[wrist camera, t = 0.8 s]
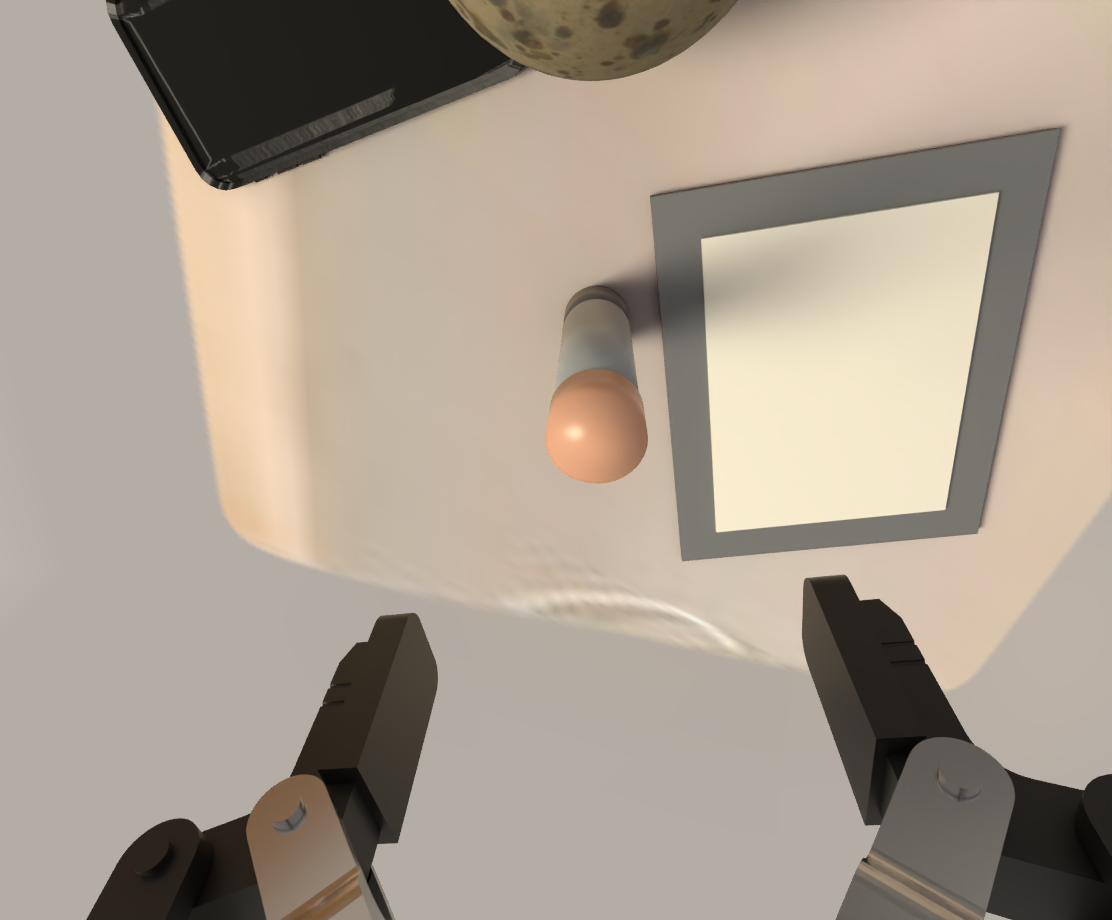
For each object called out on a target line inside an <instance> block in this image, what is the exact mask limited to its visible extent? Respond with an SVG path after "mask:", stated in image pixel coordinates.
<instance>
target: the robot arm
mask: <svg viewBox="0 0 1112 920" xmlns="http://www.w3.org/2000/svg"><path fill="white" fill-rule="evenodd" d="M802 639H803V647H804V652H805V657H806V661H807V664H808V667H809V670H810V673H811V675H812V678H813V681H814V684H815V687H816V689H817V692H818V695H819V698H820V701H821V703H822V706H823V709H824V711H825V715H826V717H827V720H828V723H829V726H830V729H831V731H832V734H833V737H834V740H835V743H836V745H837V748H838V751H839V754H840V757H841V759H842V762H843V765H844V768H845V771H846V773H847V776H848V779H849V782H850V784H851V787H852V790H853V793H854V796H855V798H856V801H857V804H858V807H859V810H860V813H861V815H862V818H863V821H864V824H865V825H880V828H879V831H878V833H877V835H876V838H875V840H874V843H873V845H872V848H871V850H870V852H869V854H868V856H867V858H866V859H865V858H863V859H862V860H861V862H860V864H859V866H858V868H857V870H856V872H855V874H854V876H853V879H852V881H851V884H850V886H849V888H848V891H847V893H846V896H845V898H844V901H843V903H842V905H841V908H840V910H839V913H838V915H837V918H836V920H984V917H985V913H986V912H988V913H992V914H995V915H998V916H1002V917H1005V918H1008V919H1012V920H1112V774H1108V775H1104V776H1099V777H1097V778H1095V779H1093V780H1092V781H1091V782H1090V783H1089V784H1088V785H1087V787H1086V788H1085V790H1079V789H1075V788H1070V787H1066V786H1061V785H1057V784H1052V783H1047V782H1043V781H1039V780H1034V779H1031V778H1027V777H1024V776H1021V775H1018V774H1016V773H1013V772H1011V771H1009V770H1007V769H1005V768H1003V766H1002V765H1001V764H1000V763H999V762H998V761H997V760H996V759H995V758H993V757H992V756H991V755H990V754H988V753H987V752H985V751H984V750H982V749H981V748H979V747H977V746H975V745H974V744H973V743H972V741H971V740H970V739H969V737H968V736H967V734H966V733H965V731H964V729H963V727H962V725H961V724H960V722H959V720H958V718H957V716H956V715H955V713H954V711H953V709H952V708H951V706H950V704H949V702H948V700H947V699H946V697H945V695H944V693H943V691H942V690H941V688H940V686H939V684H938V682H937V681H936V679H935V677H934V675H933V673H932V672H931V670H930V668H929V666H928V665H927V664H925V659H924V657H923V656H922V654H921V652H920V650H919V648H918V647H917V645H915V644H914V639H913V638H912V636H911V634H910V632H909V631H908V629H907V627H906V625H905V623H904V622H903V620H902V618H901V617H900V616H899V615H897V614H896V613H895V612H894V611H893V610H891V609H890V608H889V607H888V606H887V605H885V604H884V603H883V602H882V601H881V600H880V599H873V600H862V601H859V599H858V597H857V595H856V593H855V591H854V589H853V587H852V585H851V583H850V581H849V579H848V577H847V576H846V575H834V576H824V577H813V578H805V580H804V586H803V618H802ZM437 684H438V672H437V665H436V661H435V658H434V656H433V653H432V650H431V648H430V645H429V642H428V640H427V638H426V635H425V632H424V629H423V627H422V625H421V622H420V619H419V617H418V616H417V614H415V613H407V614H397V615H385V616H380V617H379V618H378V619H377V621H376V623H375V625H374V628H373V630H372V633H371V635H370V638H369V640H368V642H361V643H356V644H355V646H354V647H353V648H352V649H351V650H350V651H349V652H348V654H347V655H346V656H345V657H344V659H342V660H341V662H340V663H339V665H338V667H337V670H336V672H335V674H334V677H333V679H332V681H331V684H330V686H331V687H330V689H328V691H327V693H326V695H325V698H324V700H323V706H322V707H320V709H319V712H318V714H317V716H316V718H315V721H314V723H313V725H312V728H311V730H310V732H309V735H308V737H307V739H306V742H305V744H304V746H303V749H302V751H301V753H300V756H299V758H298V760H297V762H296V765H295V767H294V769H293V772H292V774H291V776H290V777H289V778H287V779H285V780H283V781H281V782H279V783H278V784H276V785H275V786H273V787H272V788H271V789H270V790H268V791H267V792H266V793H265V794H264V795H263V796H262V797H261V798H260V800H259V801H258V802H257V804H256V805H255V807H254V808H253V810H252V812H251V813H250V814H248V815H246V816H243V817H241V818H238V819H236V820H233V821H230V822H227V823H225V824H222V825H219V826H217V827H214V828H211V829H209V830H206V831H203V832H201V831H200V830H199V829H198V828H197V826H196V825H195V824H194V823H193V822H192V821H190V820H188V819H172V820H168V821H166V822H162V823H160V824H158V825H156V826H154V827H153V828H151V829H149V830H148V831H147V832H145V833H144V834H143V835H141V836H140V837H139V838H138V839H137V840H136V841H134V842H133V844H132V845H131V846H130V847H129V848H128V849H127V850H126V852H125V853H124V854H123V855H122V857H121V858H120V860H119V862H118V863H117V865H116V867H115V869H114V871H113V872H112V874H111V876H110V878H109V880H108V881H107V883H106V885H105V887H104V889H103V890H102V893H101V894H100V896H99V898H98V900H97V902H96V903H95V905H94V907H93V909H92V910H91V912H90V914H89V916H88V918H87V920H395V918H394V915H393V913H392V911H391V908H390V906H389V903H388V901H387V899H386V896H385V893H384V891H383V889H382V886H381V884H380V881H379V879H378V876H377V874H376V872H375V869H374V867H373V866H372V861H373V858H374V854H375V851H376V847H377V844H386V843H398V840H399V836H400V832H401V828H402V824H403V820H404V817H405V813H406V809H407V805H408V801H409V797H410V793H411V789H412V785H413V781H414V777H415V774H416V770H417V766H418V762H419V758H420V754H421V750H422V746H423V742H424V738H425V734H426V730H427V727H428V723H429V719H430V715H431V711H432V707H433V703H434V699H435V695H436V691H437Z"/></svg>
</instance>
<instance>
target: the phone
mask: <svg viewBox="0 0 1112 920" xmlns="http://www.w3.org/2000/svg"><path fill="white" fill-rule="evenodd" d="M106 4H107V10H108V14H109V17H110V19H111V21H112V24H113V26H114V27H115V29H116V31H117V33H118V34H119V36H120V38H121V40H122V42H123V43H124V45H125V47H126V48H127V50H128V52H129V54H130V56H131V57H132V59H133V61H134V63H135V64H136V66H137V68H138V70H139V71H140V73H141V75H142V76H143V78H144V80H145V82H146V84H147V85H148V87H149V89H150V91H151V93H152V94H153V96H154V98H155V100H156V101H157V103H158V105H159V107H160V108H161V110H162V112H163V114H164V115H165V117H166V119H167V121H168V122H169V124H170V126H171V128H172V130H173V131H174V133H175V135H176V137H177V138H178V140H179V142H180V144H181V145H182V147H183V149H184V151H185V152H186V154H187V156H188V158H189V159H190V161H191V163H192V165H193V167H194V168H195V170H196V171H197V173H198V174H199V176H200V177H201V178H202V179H203V180H204V181H205V182H206V183H208V184H209V185H210V186H213V187H215V188H217V189H221V190H231V189H235V188H238V187H241V186H244V185H246V184H249V183H251V182H254V181H255V182H259V181H262V180H264V179H266V178H268V176H269V175H271V174H274V173H276V172H277V173H278V174H280V173H283V172H285V171H288V170H290V169H293V168H295V167H298V163H301V162H302V163H303V165H304V164H306V163H309V162H311V161H314V160H316V159H319V158H321V154H323V153H326V152H328V151H331V150H333V149H336V148H338V147H341V146H343V145H346V144H348V143H351V142H353V141H356V140H358V139H361V138H363V137H366V136H368V135H371V134H373V133H376V132H378V131H381V130H383V129H386V128H388V127H390V126H393V125H395V124H398V123H400V122H403V121H405V120H408V119H410V118H413V117H415V116H418V115H420V114H423V113H425V112H428V111H430V110H433V109H435V108H438V107H440V106H443V105H445V104H448V103H450V102H453V101H455V100H458V99H460V98H463V97H465V96H468V95H470V94H473V93H475V92H478V91H480V90H483V89H485V88H487V87H490V86H492V85H495V84H497V83H500V82H502V81H505V80H507V79H510V78H511V77H513V76H514V75H516V74H517V73H518V72H519V71H520V70H521V68H522V67H523V66H524V65H523V64H521V63H519V62H517V61H515V60H513V59H511V58H510V57H508V56H507V55H505V54H504V53H502V52H501V51H499V50H498V49H497V48H495V47H494V46H492V45H491V44H490V43H489V42H487V41H486V40H485V39H484V38H482V37H481V36H480V35H479V34H478V33H477V32H476V31H475V30H474V29H473V28H472V27H471V26H470V25H469V24H468V22H467V21H466V20H465V19H464V18H463V17H462V16H461V15H460V14H459V12H458V11H457V10H456V9H455V7H454V6H453V5H452V4H451V2H450V1H449V0H106Z"/></svg>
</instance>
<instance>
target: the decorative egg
mask: <svg viewBox="0 0 1112 920" xmlns="http://www.w3.org/2000/svg"><path fill="white" fill-rule="evenodd" d="M449 1H450V2H451V4H452V5H453V6H454V7H455V9H456V10H457V11H458V12H459V14H460V15H461V16H462V17H463V18H464V19H465V20H466V21H467V22H468V24H469V25H470V26H471V27H472V28H473V29H474V30H475V31H476V32H477V33H478V34H479V35H480V36H481V37H482V38H484V39H485V40H486V41H487V42H489V43H490V44H491V45H492V46H494V47H495V48H497V49H498V50H499V51H501V52H502V53H504V54H505V55H507V56H508V57H510V58H511V59H513V60H515V61H517V62H519V63H521V64H523V65H525V66H527V67H529V68H532V69H534V70H536V71H539V72H542V73H545V74H548V75H551V76H555V77H560V78H564V79H571V80H580V81H600V80H611V79H618V78H623V77H627V76H631V75H634V74H637V73H640V72H644V71H646V70H649V69H651V68H653V67H656V66H658V65H660V64H662V63H664V62H666V61H668V60H670V59H671V58H673V57H675V56H677V55H678V54H680V53H681V52H683V51H684V50H686V49H687V48H689V47H690V46H691V45H693V44H694V43H695V42H697V41H698V40H699V39H700V38H702V37H703V36H704V35H705V34H706V33H708V32H709V31H710V30H711V29H712V28H713V27H714V26H715V25H716V24H717V23H718V22H719V21H720V20H721V19H722V18H723V17H724V16H725V15H726V14H727V13H728V11H729V10H730V9H731V8H732V7H733V6H734V4H735V3H736V2H737V1H738V0H449Z"/></svg>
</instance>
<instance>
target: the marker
mask: <svg viewBox="0 0 1112 920" xmlns="http://www.w3.org/2000/svg"><path fill="white" fill-rule="evenodd" d="M647 443H648V434H647V428H646V421H645V414H644V407H643V401H642V398H641V395H640V393H639V391H638V385H637V377H636V370H635V362H634V355H633V347H632V340H631V333H630V325H629V318H628V311H627V307H626V304H625V302H624V301H623V299H622V298H621V297H620V296H619V295H618V294H617V293H616V292H615V291H613V290H611V289H609V288H606V287H602V286H592V287H587V288H585V289H582V290H581V291H579V292H578V293H576V294H575V295H574V296H573V297H572V298H571V300H570V301H569V303H568V305H567V307H566V311H565V317H564V325H563V333H562V340H561V348H560V356H559V364H558V371H557V379H556V387H555V393H554V395H553V397H552V400H551V404H550V410H549V418H548V425H547V432H546V446H547V450H548V453H549V455H550V458H551V459H552V461H553V463H554V464H555V465H556V466H557V467H558V468H559V469H560V470H561V471H562V472H563V473H565V474H566V475H568V476H569V477H571V478H573V479H576V480H578V481H582V482H586V483H607V482H611V481H615V480H618V479H620V478H622V477H624V476H626V475H627V474H629V473H630V472H631V471H633V470H634V469H635V468H636V467H637V466H638V464H639V463H640V462H641V460H642V458H643V457H644V454H645V452H646V448H647Z"/></svg>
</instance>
